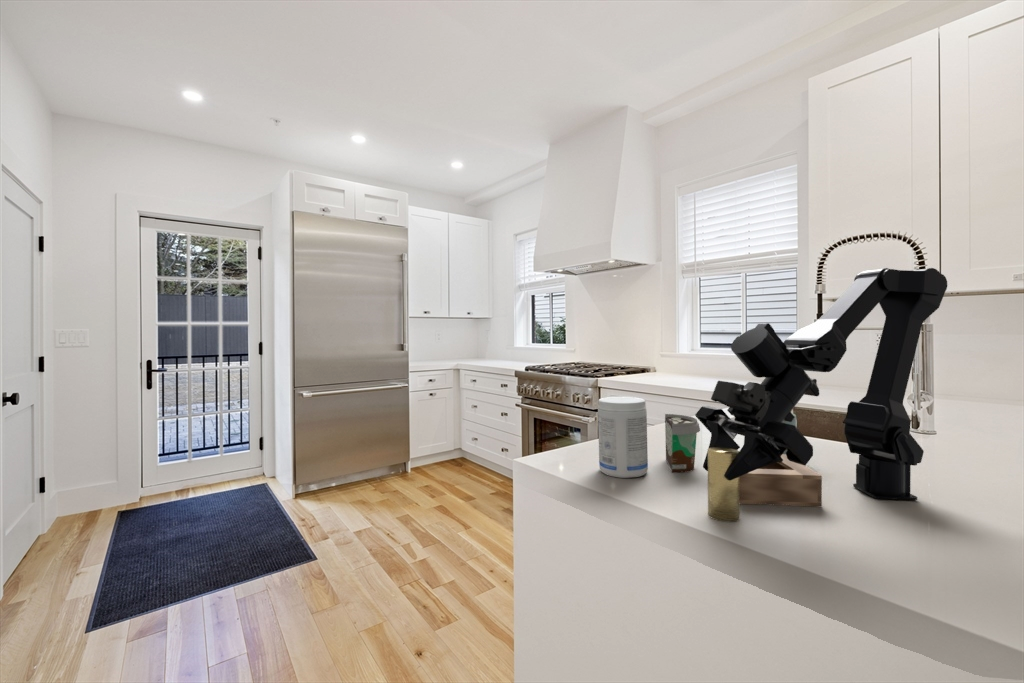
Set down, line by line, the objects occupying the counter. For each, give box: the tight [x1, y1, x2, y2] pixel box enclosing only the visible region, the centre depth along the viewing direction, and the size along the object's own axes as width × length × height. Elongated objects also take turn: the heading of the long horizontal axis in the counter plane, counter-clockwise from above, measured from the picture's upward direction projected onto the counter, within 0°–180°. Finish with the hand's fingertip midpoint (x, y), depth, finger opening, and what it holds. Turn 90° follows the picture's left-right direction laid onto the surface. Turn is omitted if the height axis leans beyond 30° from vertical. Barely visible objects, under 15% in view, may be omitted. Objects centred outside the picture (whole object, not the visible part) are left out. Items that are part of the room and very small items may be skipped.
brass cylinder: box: [707, 447, 741, 522], centre depth 70 cm, size 4×4×10 cm
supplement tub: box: [597, 396, 649, 479], centre depth 93 cm, size 10×10×15 cm
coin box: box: [740, 454, 823, 507], centre depth 81 cm, size 13×13×5 cm
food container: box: [664, 413, 701, 474], centre depth 96 cm, size 12×6×10 cm, turn 168°
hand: (715, 473), depth 70 cm, fingers closed on brass cylinder, 4 cm apart
